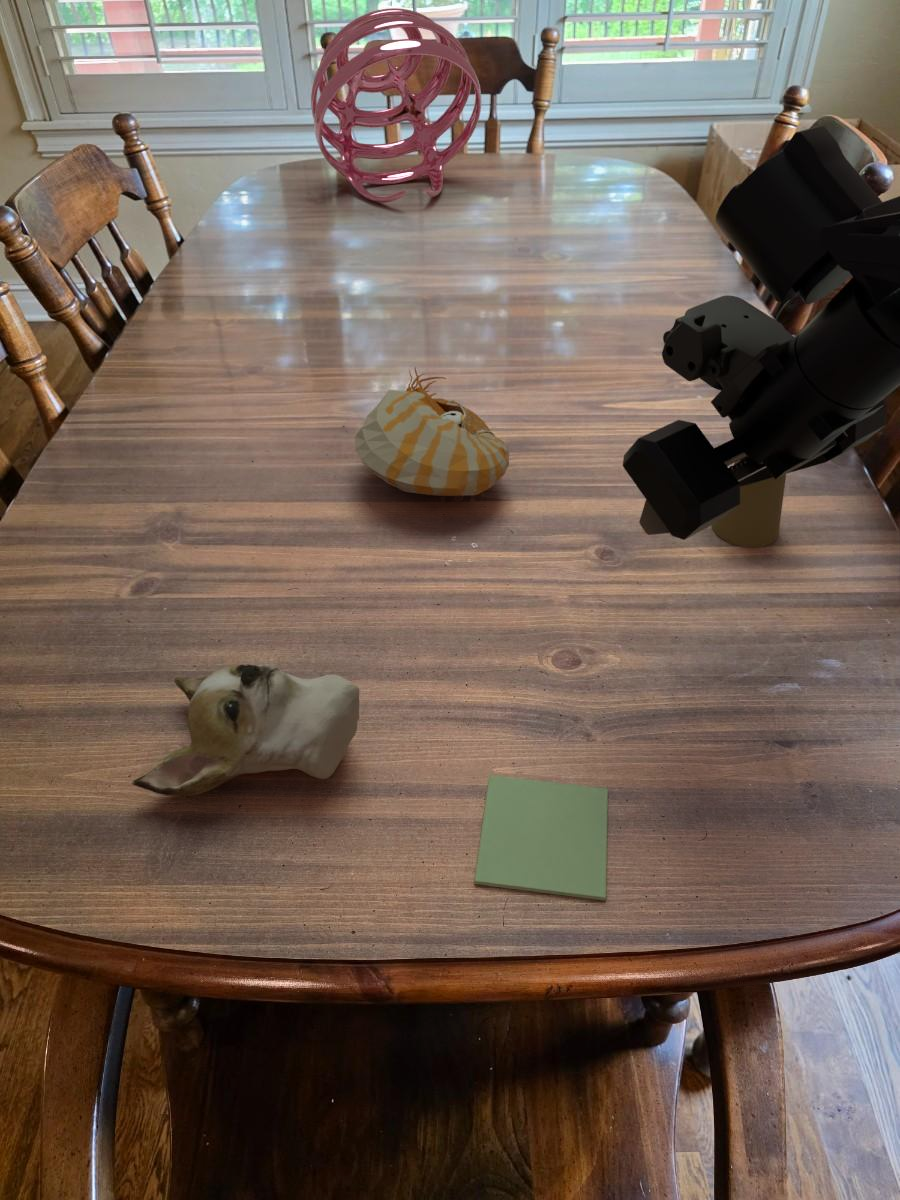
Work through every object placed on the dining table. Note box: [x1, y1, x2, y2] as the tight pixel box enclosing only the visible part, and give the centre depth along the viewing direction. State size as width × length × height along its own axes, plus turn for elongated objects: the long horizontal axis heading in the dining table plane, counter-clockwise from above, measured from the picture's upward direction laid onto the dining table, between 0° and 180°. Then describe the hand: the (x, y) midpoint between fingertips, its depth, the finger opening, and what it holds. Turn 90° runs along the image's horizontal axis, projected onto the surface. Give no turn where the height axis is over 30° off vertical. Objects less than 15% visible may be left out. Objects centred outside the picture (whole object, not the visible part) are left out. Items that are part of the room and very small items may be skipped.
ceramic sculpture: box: [131, 663, 360, 797], centre depth 58 cm, size 11×9×15 cm
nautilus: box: [354, 366, 510, 497], centre depth 86 cm, size 8×22×15 cm
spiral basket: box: [310, 7, 482, 204], centre depth 143 cm, size 28×28×27 cm
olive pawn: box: [711, 460, 787, 548], centre depth 76 cm, size 6×6×11 cm
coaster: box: [474, 774, 609, 902], centre depth 56 cm, size 8×8×1 cm
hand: (691, 503), depth 61 cm, fingers open, 9 cm apart
